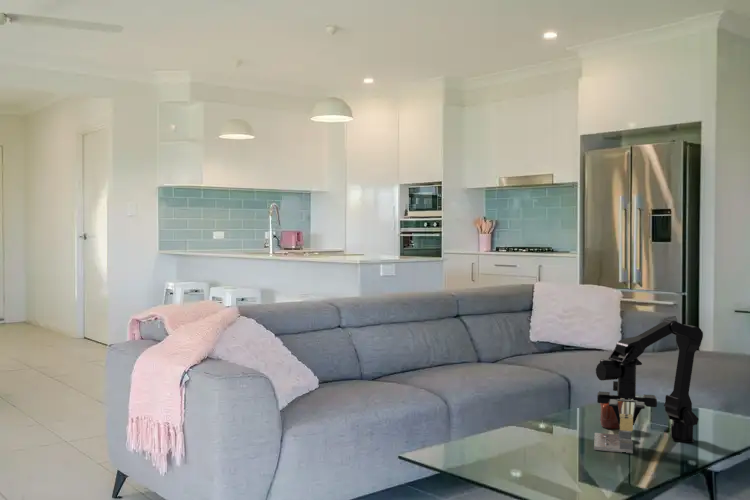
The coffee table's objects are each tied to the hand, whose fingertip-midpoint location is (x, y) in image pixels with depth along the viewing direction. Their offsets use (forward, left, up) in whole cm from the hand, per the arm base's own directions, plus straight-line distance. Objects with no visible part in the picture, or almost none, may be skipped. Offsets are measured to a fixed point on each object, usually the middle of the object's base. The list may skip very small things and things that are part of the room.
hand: (626, 424), depth 246 cm
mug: (+5, -20, -7) cm, 22 cm away
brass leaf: (0, 0, -1) cm, 1 cm away
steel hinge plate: (+4, 0, -7) cm, 8 cm away
